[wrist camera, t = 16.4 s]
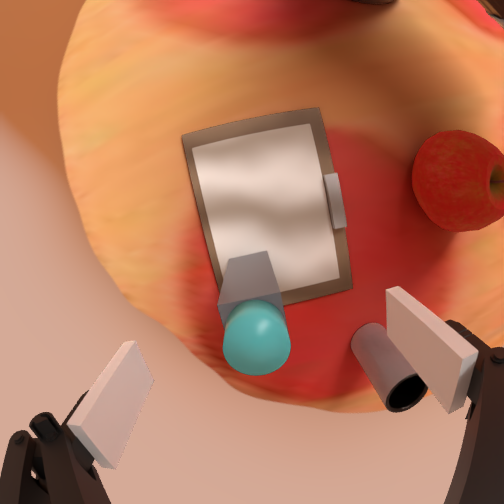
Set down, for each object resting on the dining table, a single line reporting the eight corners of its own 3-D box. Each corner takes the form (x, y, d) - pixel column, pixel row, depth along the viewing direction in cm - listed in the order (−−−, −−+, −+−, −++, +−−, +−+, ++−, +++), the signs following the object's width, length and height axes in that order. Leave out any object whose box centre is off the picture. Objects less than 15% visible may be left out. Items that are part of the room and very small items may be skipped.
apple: (475, 166, 25) (538, 167, 15) (450, 242, 27) (513, 264, 17) (417, 118, 24) (480, 97, 14) (387, 201, 26) (452, 210, 16)
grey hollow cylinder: (365, 316, 29) (409, 367, 19) (392, 330, 29) (438, 379, 19) (342, 349, 30) (375, 408, 20) (370, 361, 30) (407, 416, 20)
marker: (228, 258, 27) (212, 325, 13) (266, 250, 27) (286, 309, 13) (237, 294, 27) (231, 381, 14) (274, 286, 27) (297, 369, 14)
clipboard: (182, 136, 25) (179, 133, 23) (317, 108, 24) (320, 105, 23) (226, 315, 28) (226, 321, 27) (351, 287, 28) (355, 291, 27)
